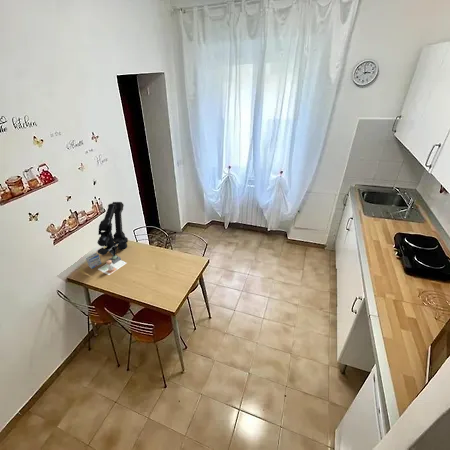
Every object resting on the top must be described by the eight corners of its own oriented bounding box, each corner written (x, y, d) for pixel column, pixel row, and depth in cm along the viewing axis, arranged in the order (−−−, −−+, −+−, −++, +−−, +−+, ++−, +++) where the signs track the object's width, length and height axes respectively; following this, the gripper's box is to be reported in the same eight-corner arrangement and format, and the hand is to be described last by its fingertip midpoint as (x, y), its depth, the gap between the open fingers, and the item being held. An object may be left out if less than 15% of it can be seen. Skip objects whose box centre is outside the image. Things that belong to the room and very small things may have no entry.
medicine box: (92, 269, 185) (88, 260, 180) (88, 267, 187) (85, 257, 183) (102, 264, 190) (99, 254, 186) (98, 261, 192) (95, 252, 188)
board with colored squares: (116, 257, 197) (115, 254, 196) (129, 263, 190) (128, 260, 189) (95, 270, 184) (94, 267, 182) (108, 277, 177) (108, 274, 176)
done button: (115, 257, 194) (114, 255, 193) (117, 258, 192) (117, 256, 191) (111, 259, 191) (111, 257, 190) (114, 260, 190) (113, 258, 189)
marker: (112, 268, 184) (109, 259, 180) (115, 269, 183) (112, 260, 179) (107, 270, 182) (105, 262, 178) (111, 272, 180) (108, 263, 176)
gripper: (112, 229, 193) (117, 246, 201) (90, 241, 179) (96, 259, 187) (122, 233, 188) (126, 250, 196) (100, 246, 174) (105, 263, 182)
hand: (113, 255), depth 190 cm, fingers closed
